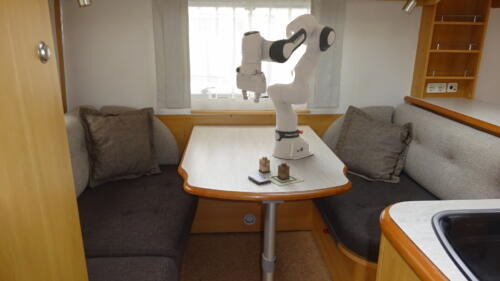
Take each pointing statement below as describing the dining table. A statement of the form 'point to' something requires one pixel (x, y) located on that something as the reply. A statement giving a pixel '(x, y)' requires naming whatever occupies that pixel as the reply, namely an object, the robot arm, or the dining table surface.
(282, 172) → the walnut stamp
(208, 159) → the dining table surface
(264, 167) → the beech stamp
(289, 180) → the form card
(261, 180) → the ink pad
